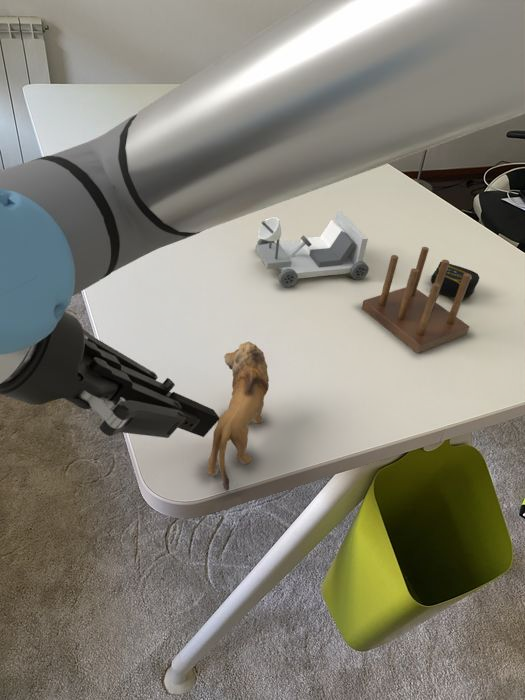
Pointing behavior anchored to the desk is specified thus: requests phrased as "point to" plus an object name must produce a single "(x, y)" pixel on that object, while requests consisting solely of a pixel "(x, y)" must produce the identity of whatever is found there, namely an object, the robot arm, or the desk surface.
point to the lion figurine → (240, 406)
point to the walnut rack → (418, 309)
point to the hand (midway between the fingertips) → (208, 423)
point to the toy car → (314, 251)
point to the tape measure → (455, 281)
